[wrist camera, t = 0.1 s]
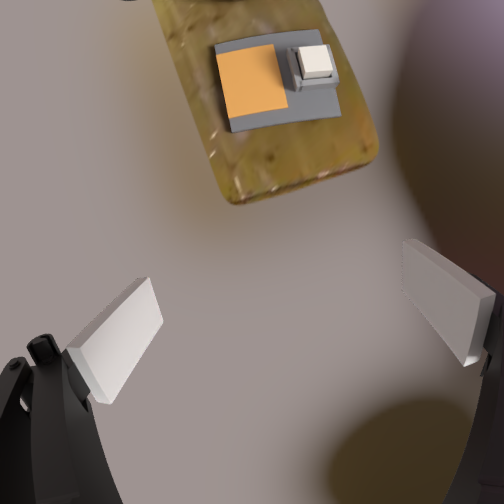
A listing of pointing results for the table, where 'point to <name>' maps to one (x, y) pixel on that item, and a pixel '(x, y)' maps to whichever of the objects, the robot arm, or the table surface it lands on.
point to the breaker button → (314, 62)
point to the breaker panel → (274, 81)
